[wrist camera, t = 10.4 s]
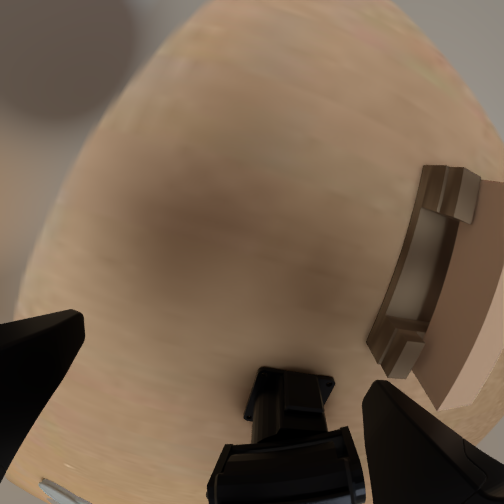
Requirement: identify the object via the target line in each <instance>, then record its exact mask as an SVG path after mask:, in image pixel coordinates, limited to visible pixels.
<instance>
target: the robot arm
mask: <svg viewBox="0 0 504 504" xmlns="http://www.w3.org/2000/svg"><path fill="white" fill-rule="evenodd" d="M84 340H85V328H84V317H83V314H82V313H81V312H78V311H76V310H73V309H69V310H65V311H60V312H55V313H51V314H46V315H42V316H37V317H32V318H27V319H23V320H18V321H13V322H9V323H4V324H0V483H1V480H2V479H3V477H4V475H5V473H6V471H7V469H8V467H9V465H10V464H11V462H12V460H13V458H14V456H15V455H16V453H17V451H18V449H19V448H20V446H21V444H22V442H23V441H24V439H25V437H26V436H27V434H28V432H29V431H30V429H31V427H32V426H33V424H34V423H35V421H36V419H37V418H38V416H39V415H40V413H41V412H42V410H43V408H44V407H45V405H46V404H47V402H48V401H49V399H50V398H51V396H52V395H53V393H54V392H55V390H56V389H57V387H58V386H59V384H60V383H61V381H62V380H63V378H64V377H65V375H66V373H67V372H68V370H69V368H70V366H71V364H72V362H73V360H74V359H75V357H76V355H77V353H78V351H79V350H80V348H81V346H82V344H83V343H84ZM262 373H267V374H262ZM329 382H331V383H329ZM327 383H329V384H327ZM334 385H335V381H334V379H333V378H332V377H325V376H317V375H311V374H304V373H297V372H290V371H284V370H278V369H272V368H267V367H262V368H260V369H259V370H258V372H257V375H256V379H255V382H254V385H253V388H252V391H251V394H250V397H249V400H248V403H247V406H246V409H245V412H244V419H245V420H247V421H252V422H253V425H252V439H251V444H242V445H233V444H225V446H224V448H223V450H222V453H221V454H220V457H219V459H218V461H217V464H216V466H215V468H214V470H213V473H212V475H211V477H210V479H209V482H208V484H207V492H206V497H207V499H208V501H209V504H362V503H365V500H366V492H365V482H364V476H363V471H362V467H361V463H360V459H359V456H358V453H357V451H356V448H355V445H354V442H353V439H352V436H351V433H350V431H349V428H348V426H346V427H342V428H340V429H338V430H334V431H330V432H328V429H327V424H326V418H325V413H324V404H325V402H326V401H327V399H328V397H329V395H330V393H331V391H332V389H333V387H334ZM362 411H363V424H364V440H365V449H366V455H367V461H368V468H369V474H370V481H371V489H372V496H373V504H504V464H502V463H500V462H499V461H497V460H495V459H493V458H492V457H490V456H489V455H487V454H486V453H484V452H482V451H481V450H479V449H478V448H476V447H475V446H474V445H472V444H471V443H470V442H468V441H467V440H465V439H464V438H463V439H462V437H461V436H460V435H459V434H457V433H456V432H455V431H453V430H452V429H450V428H449V427H448V426H446V425H445V424H444V423H442V422H441V421H440V420H438V419H437V418H436V417H434V416H433V415H432V414H430V413H429V412H428V411H426V410H425V409H424V408H423V407H421V406H420V405H419V404H417V403H416V402H415V401H413V400H412V399H411V398H409V397H408V396H407V395H405V394H404V393H403V392H402V391H400V390H399V389H398V388H396V387H395V386H394V385H392V384H391V383H390V382H388V381H386V380H375V381H374V382H373V383H372V385H371V387H370V389H369V390H368V392H367V394H366V395H365V397H364V399H363V402H362Z"/></svg>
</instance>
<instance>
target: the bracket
mask: <svg viewBox="0 0 504 504" xmlns="http://www.w3.org/2000/svg"><path fill="white" fill-rule="evenodd" d="M480 181H481V177H480V176H478V175H477V174H475V173H473V172H471V171H470V170H468V169H466V168H464V167H449V166H444V165H424V166H423V171H422V176H421V181H420V185H419V189H418V194H417V198H416V202H415V206H414V210H413V213H412V217H411V221H410V224H409V228H408V231H407V235H406V238H405V241H404V245H403V248H402V251H401V254H400V257H399V260H398V263H397V266H396V269H395V272H394V275H393V277H392V280H391V283H390V286H389V288H388V291H387V294H386V296H385V299H384V301H383V304H382V306H381V309H380V311H379V314H378V316H377V319H376V321H375V323H374V326H373V328H372V330H371V332H370V335H369V337H368V339H367V341H366V343H367V345H368V346H369V348H370V350H371V352H372V354H373V356H374V358H375V360H376V362H377V364H381V366H382V368H383V370H384V372H385V374H386V376H387V378H395V379H406V378H407V376H408V375H409V373H410V371H411V369H412V368H413V366H414V364H415V362H416V360H417V359H418V357H419V355H420V353H421V351H422V349H423V347H424V345H425V342H424V341H423V339H424V336H425V334H426V331H427V329H428V326H429V324H430V321H431V319H432V316H433V313H434V311H435V308H436V305H437V302H438V299H439V297H440V294H441V290H442V287H443V284H444V281H445V278H446V274H447V271H448V268H449V264H450V260H451V257H452V253H453V249H454V245H455V241H456V236H457V232H458V227H459V222H460V221H462V222H465V223H468V224H471V222H472V218H473V214H474V210H475V206H476V201H477V197H478V192H479V187H480Z"/></svg>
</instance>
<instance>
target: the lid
mask: <svg viewBox="0 0 504 504" xmlns="http://www.w3.org/2000/svg"><path fill="white" fill-rule="evenodd" d="M39 487H40V488H41V489H42V490H43V491H44V492H45V493H46V494H47V495H48V496H50V497H51V498H52V499H53V500H55V501H56V502H58V503H59V504H92V503H90V502H88V501H86V500H84V499H82V498H80V497H78V496H76V495H75V494H73V493H71V492H70V491H68V490H67V489H65V488H63V487H61V486H60V485H58V484H56V483H54V482H52V481H50V480H48V479H43V481H42V482H39Z"/></svg>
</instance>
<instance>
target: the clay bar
mask: <svg viewBox="0 0 504 504" xmlns="http://www.w3.org/2000/svg"><path fill="white" fill-rule="evenodd" d="M423 341H424V342H425V345H424V347H423V349H422V351H421V353H420V355H419V357H418V359H417V360H416V362H415V364H414V366H413V368H412V371H413V373H414V374H415V376H416V377H417V379H418V381H419V382H420V384H421V385H422V387H423V389H424V390H425V392H426V394H427V395H428V397H429V399H430V400H431V402H432V404H433V405H434V407H435V409H436V410H437V411H442V410H447V409H453V408H458V407H463V406H467V405H471V404H472V403H473V401H474V400H475V398H476V397H477V395H478V393H479V392H480V390H481V388H482V387H483V385H484V383H485V382H486V380H487V378H488V377H489V375H490V373H491V371H492V369H493V367H494V366H495V364H496V362H497V360H498V358H499V356H500V354H501V352H502V350H503V348H504V182H496V181H488V180H481V181H480V187H479V192H478V197H477V201H476V206H475V210H474V214H473V218H472V222H471V224H468V223H465V222H462V221H460V222H459V227H458V232H457V236H456V241H455V245H454V249H453V253H452V257H451V260H450V264H449V268H448V271H447V274H446V278H445V281H444V284H443V287H442V290H441V294H440V297H439V299H438V302H437V305H436V308H435V311H434V313H433V316H432V319H431V321H430V324H429V326H428V329H427V331H426V334H425V336H424V339H423Z"/></svg>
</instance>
